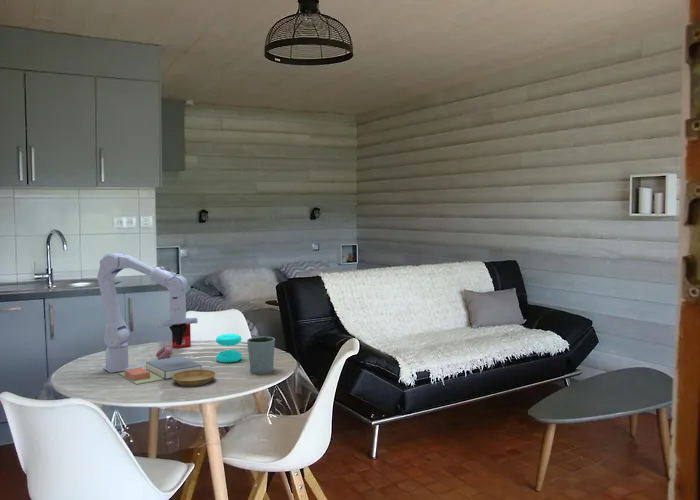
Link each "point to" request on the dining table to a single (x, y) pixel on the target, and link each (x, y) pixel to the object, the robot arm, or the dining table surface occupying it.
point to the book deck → (171, 366)
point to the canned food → (185, 341)
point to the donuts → (228, 354)
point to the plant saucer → (194, 377)
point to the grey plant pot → (261, 354)
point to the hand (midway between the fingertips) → (178, 344)
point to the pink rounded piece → (164, 352)
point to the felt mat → (147, 380)
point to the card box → (137, 373)
